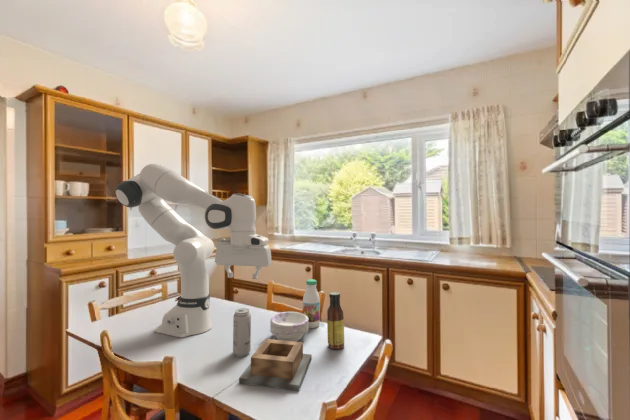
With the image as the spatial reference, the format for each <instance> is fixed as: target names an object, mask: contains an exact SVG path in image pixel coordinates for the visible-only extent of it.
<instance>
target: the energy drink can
mask: <svg viewBox="0 0 630 420" xmlns="http://www.w3.org/2000/svg"><path fill="white" fill-rule="evenodd" d="M232 318H233V320H232V321H233V322H232V323H233V324H232V327H233V331H232V338H233V340H232V353H233V354H234V356H236V357H245V356H247V355H249V354H250V351H251V350H252V349H251V348H252V347H251V346H252V345H251V343H252V342H251V340H252V337H251V336H252V333H251V331H252V314H251V312H250V309H249V308H245V307H244V308H238V309H236V310H235V312H234V314H233V317H232Z"/></svg>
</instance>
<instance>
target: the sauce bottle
mask: <svg viewBox="0 0 630 420" xmlns="http://www.w3.org/2000/svg"><path fill="white" fill-rule="evenodd" d="M328 296H329V307H328V308H327V311H326V312H327V313H326V314H327V319H326V321H327V324H326V325H327V344H328V347H329V348H330V349H333V350H341V349H343V348H344V346H345V323H344V322H345V319H344V318H345V317H344V311H343V309H342V307H341V301H340V299H341V293H340V292H338V291H337V292H336V291H332V292H329V294H328Z"/></svg>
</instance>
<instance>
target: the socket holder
mask: <svg viewBox="0 0 630 420" xmlns="http://www.w3.org/2000/svg"><path fill="white" fill-rule="evenodd" d="M312 356H313V355H312V354H310V353H309V354H308V353H304V342H302V341H295V342H294V341H283V340H278V339H274V338H273V339H272V338H270V339H269V338H265V339H264V341H263V342H262V343H261V344H260V346H259V347H258V348H257V349H256V350H255V352H254V353H253V354H252V355H251V356H250V363H249V365H248V366H247V367H246V368H245V370H244V371H243V372H242V373H241V375H240V376H239V377H238V383H239V384H243V385H250V386H257V387H258V386H259V387H266V388H267V387H268V388H272V389H273V388H274V389H282V390H291V391H298V392H299V391H300V389H301V387H302V385H303V383H304V378H305V377H306V374H307V371H308V369H309V367H310V365H311V361H312V359H313V358H312Z"/></svg>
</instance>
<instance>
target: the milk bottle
mask: <svg viewBox="0 0 630 420" xmlns="http://www.w3.org/2000/svg"><path fill="white" fill-rule="evenodd" d="M317 282H318V281H317V280H316V279H312V278H311V279H307V280H306V288H305V292H304V294H303V298H302V312H301V313H302V314H305V315H306V316H307V317H308V319H309V320H308V323H309V324H308V329H317V328H318V327H320V324H321V323H320V322H321V319H320V318H321V316H320V315H321V314H320V313H321V312H320V311H321V299H320V295H319V292H318V289H317Z"/></svg>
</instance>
